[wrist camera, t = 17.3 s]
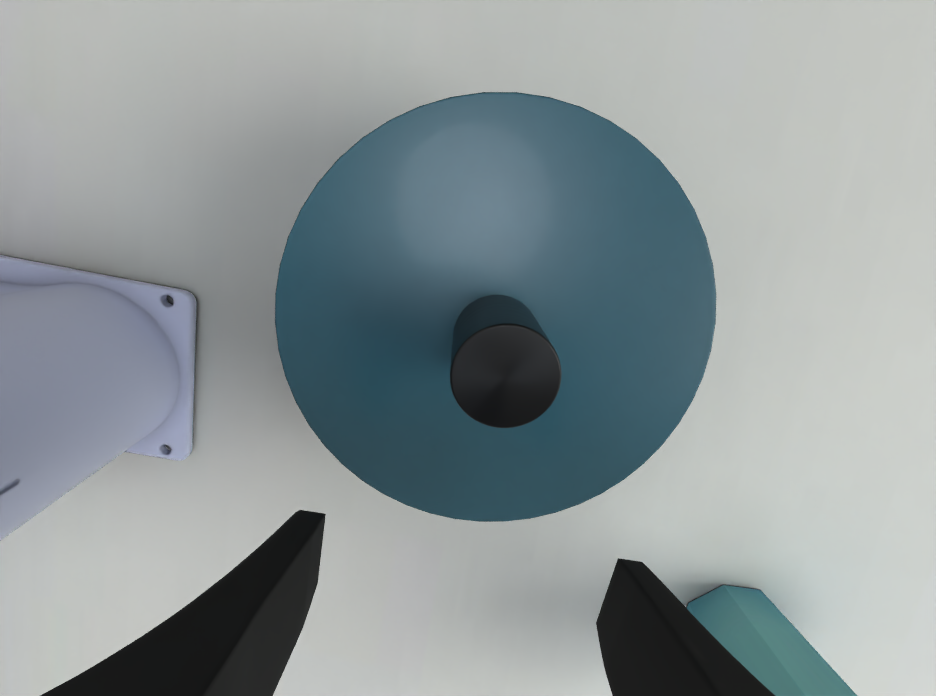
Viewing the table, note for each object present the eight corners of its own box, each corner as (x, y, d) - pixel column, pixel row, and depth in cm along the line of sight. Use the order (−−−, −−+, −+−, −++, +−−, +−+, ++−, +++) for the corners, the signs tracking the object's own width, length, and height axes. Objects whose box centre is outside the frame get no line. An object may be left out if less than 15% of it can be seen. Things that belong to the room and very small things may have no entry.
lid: (272, 469, 17) (201, 566, 12) (309, 52, 13) (225, -30, 8) (629, 529, 18) (685, 640, 13) (762, 155, 14) (907, 130, 9)
